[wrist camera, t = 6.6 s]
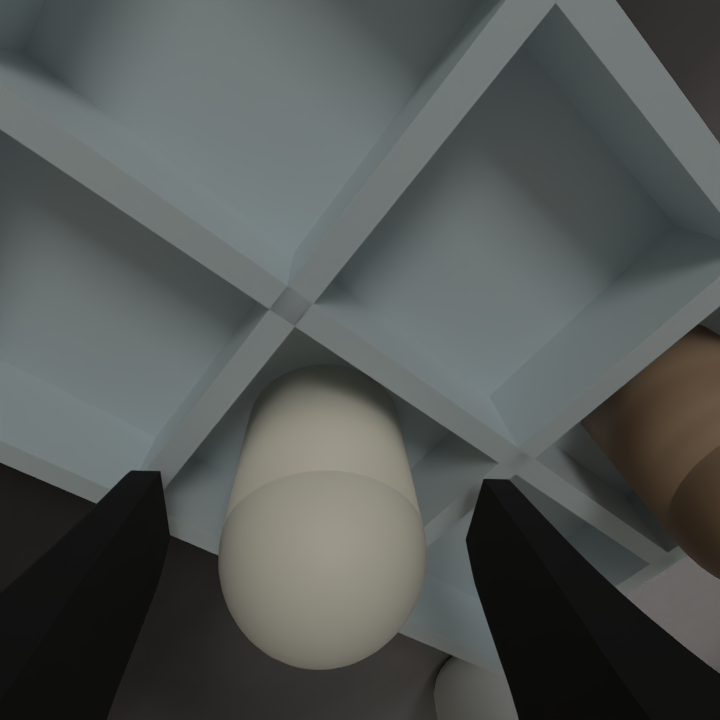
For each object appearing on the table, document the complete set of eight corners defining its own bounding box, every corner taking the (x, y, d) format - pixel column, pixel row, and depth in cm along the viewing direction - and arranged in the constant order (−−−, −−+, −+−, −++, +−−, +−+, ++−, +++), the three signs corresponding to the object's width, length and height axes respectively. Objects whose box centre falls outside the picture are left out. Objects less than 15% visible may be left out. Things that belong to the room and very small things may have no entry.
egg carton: (802, 353, 14) (912, 411, 11) (474, 594, 19) (498, 675, 16) (186, -397, 7) (97, -717, 4) (-95, 307, 11) (-220, 368, 9)
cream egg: (407, 368, 12) (471, 570, 7) (388, 486, 14) (426, 713, 9) (246, 360, 12) (183, 569, 7) (250, 483, 14) (203, 719, 9)
